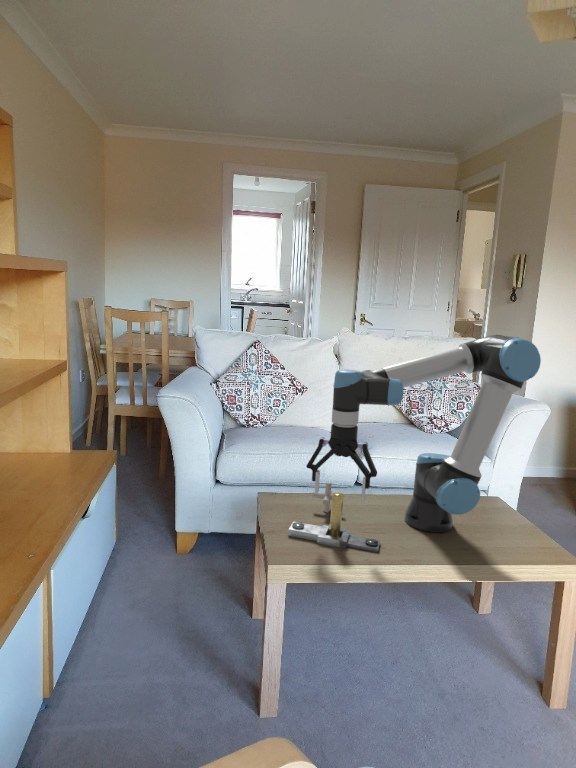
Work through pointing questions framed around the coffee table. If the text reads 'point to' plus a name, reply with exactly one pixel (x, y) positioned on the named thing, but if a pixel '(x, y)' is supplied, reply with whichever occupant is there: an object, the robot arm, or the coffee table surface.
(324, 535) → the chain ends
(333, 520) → the pin
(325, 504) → the pipe connector
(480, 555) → the coffee table surface
